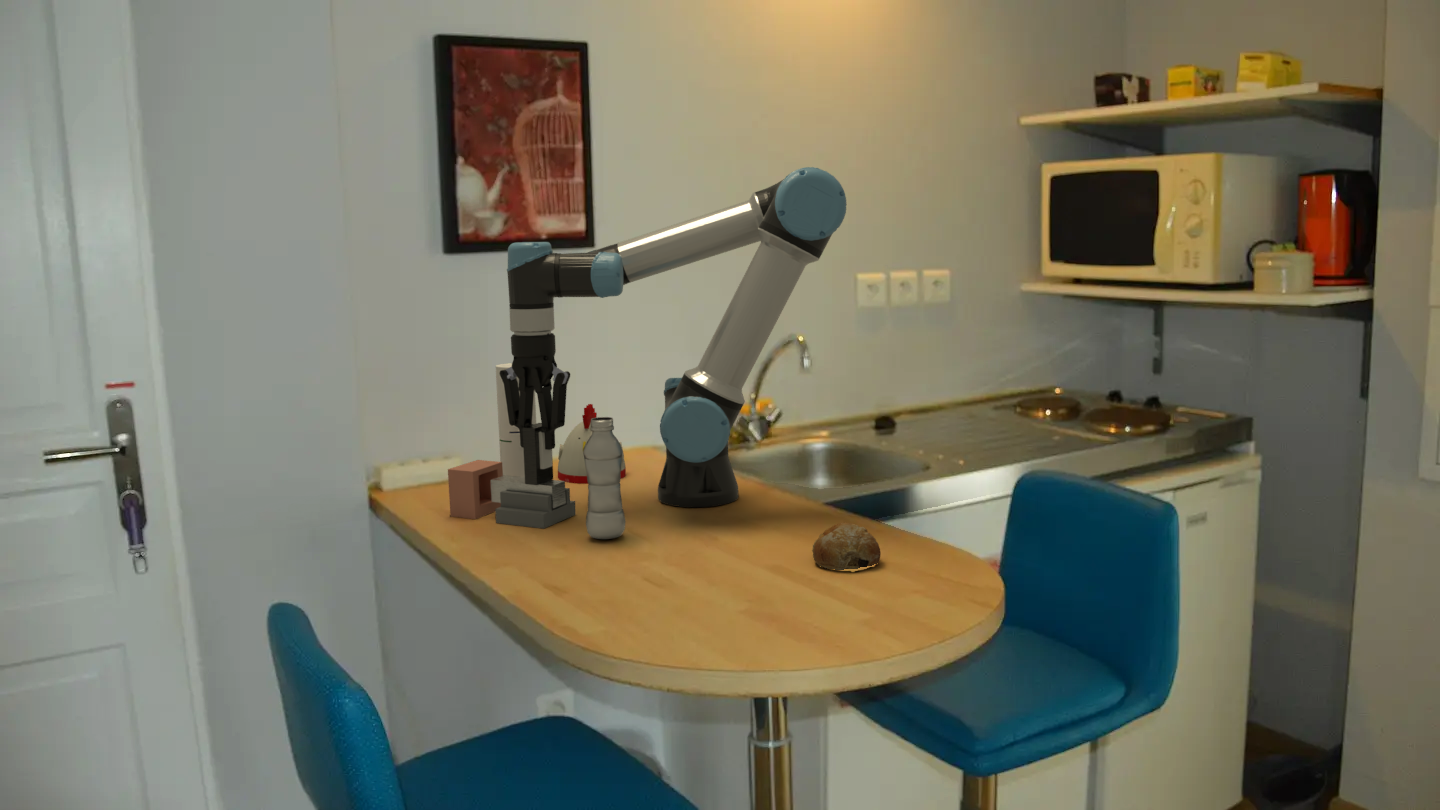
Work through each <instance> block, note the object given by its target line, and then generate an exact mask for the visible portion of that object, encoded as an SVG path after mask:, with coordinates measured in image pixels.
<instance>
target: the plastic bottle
mask: <svg viewBox="0 0 1440 810" xmlns="http://www.w3.org/2000/svg"><path fill="white" fill-rule="evenodd" d="M590 430H591V431H592V435H591V436H590V438H589V439H588V441H587V443H586V444H585V446H584V450H583V455H584V461H585V466H586V472H587V481H588V484H587V490H588V495H587V496H588V497H587V512H586V515H585V516H586V518H585V526H586V531H587V534H588V535H589V536H590V538H592V539H596V540H609V539H616V538H619V537H621V536H623V533H624V532H625V529H626V522H627V521H626V515H625V511H624V509H623V500H622V492H621V479H620V478H621V463H622V449H623V446H622V447H621V444H620V443H619V442H620V441H619V439H618V438H617V437H616V436H615V435H614V433H613V431H614V430H615V426H614V418H613V417H610V416H597V417H596V418H592V419H591V427H590Z"/></svg>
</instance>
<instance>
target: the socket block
mask: <svg viewBox="0 0 1440 810" xmlns="http://www.w3.org/2000/svg"><path fill="white" fill-rule="evenodd" d="M447 476H448V477H447V479H448V497H449V513H450V514H449V516H450V517H455V518H463V519H472V520H477V519H479V518H482V517H484V516H487V515H490V514H492V513H495V509H497V508H499V507H501V503H498V502H492V499H491V480H492V479H494V478H497V477H500V476H503V467H502V462H500V461H496V460H495V461H494V460H485V459H484V460H482V459H476V460H473V461H470V462H467V463H464V464H460V465H456V466H454V467H451V468H448V469H447Z"/></svg>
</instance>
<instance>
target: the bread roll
mask: <svg viewBox="0 0 1440 810" xmlns="http://www.w3.org/2000/svg"><path fill="white" fill-rule="evenodd" d="M811 551H812V558H813V561H814V562H815V563H816V564H817V566H818V567H819V566H821V567H824V569H826V568H828V569H835V570H844V569H858V568H860V567H867V566H872V565H874V564H877V563H878V564H879V563H880V561H881V560H880V559H881V548H880V545H879V543H878V541H877V539H876V538H875V537H874V536H873V535H872V534H871V533H870V532H868V529H867V528H866V527H864V526H859V525H858V524H855V523H848V522H841V523H836V524H834V525H832V526H829V527H828V528H826V529H825V530H824V531H823V532H822V533H820V534H819V535H818V538H817V539H815V540H814V542H813V544H812V550H811ZM821 567H820V568H821ZM828 569H827V570H828Z"/></svg>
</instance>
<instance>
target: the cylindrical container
mask: <svg viewBox="0 0 1440 810" xmlns="http://www.w3.org/2000/svg"><path fill="white" fill-rule="evenodd" d="M510 367H512V362H510V363H499V364H496V365H495V377H496V378H495V379H496V380H495V381H496V396H497V397H496V399H497V401H496V404H497V419H498V423H497V424H498V439H499V460H500V461H499V462H502V467H503V475H507V476H518V477H525V471H524V449H523V448H522V447H521V445H520V430H519V428H518V427H516V426H514V425H513V426H511V425H510V423H509V417H508V410H507V403H506V396H505V389H504V383H503V381H502V379H501V376H500V371H501V370H506V369H508V368H510ZM516 379H517V382H518V388H519V379H518V377H516ZM519 395H520V391H519ZM536 406H537V405H536V392H535V390H534V396H533V411H532V424H536V423H537V410H536V409H537V407H536Z"/></svg>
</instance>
